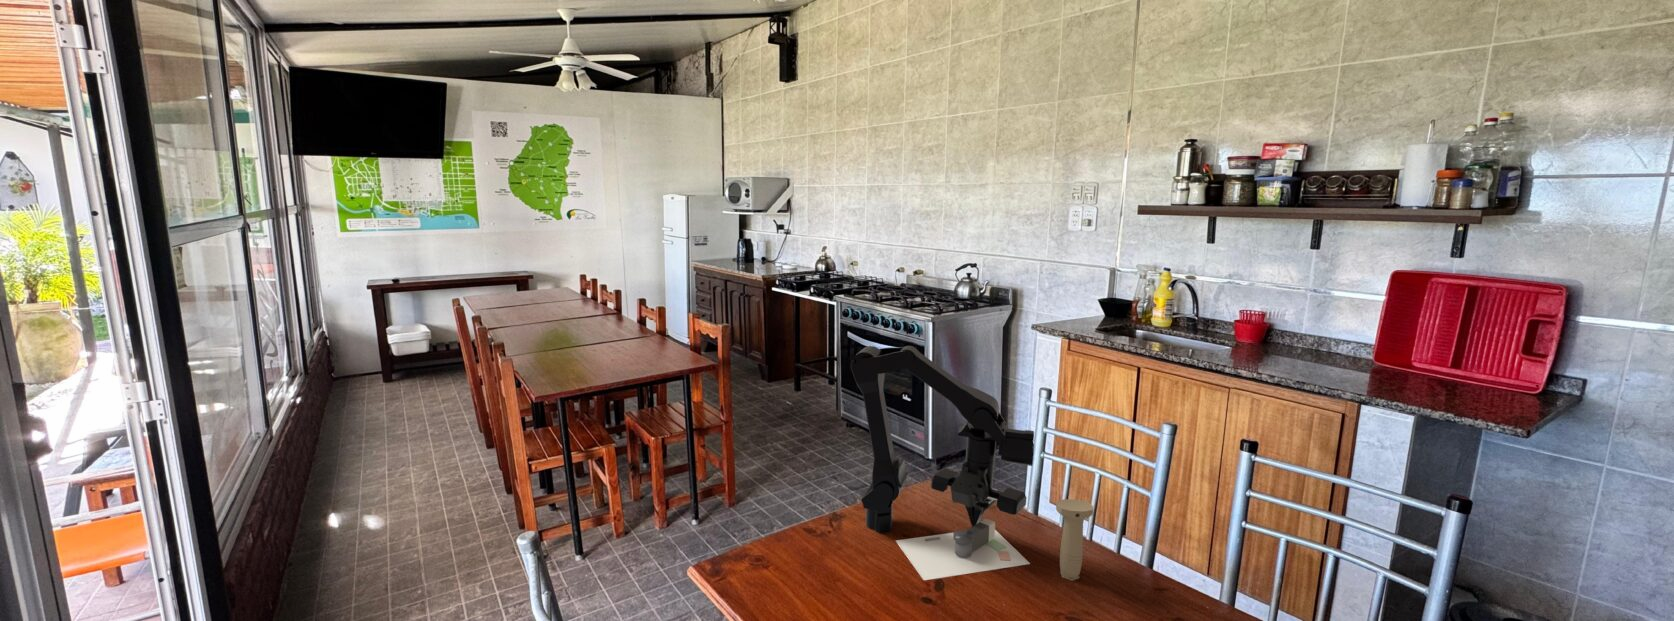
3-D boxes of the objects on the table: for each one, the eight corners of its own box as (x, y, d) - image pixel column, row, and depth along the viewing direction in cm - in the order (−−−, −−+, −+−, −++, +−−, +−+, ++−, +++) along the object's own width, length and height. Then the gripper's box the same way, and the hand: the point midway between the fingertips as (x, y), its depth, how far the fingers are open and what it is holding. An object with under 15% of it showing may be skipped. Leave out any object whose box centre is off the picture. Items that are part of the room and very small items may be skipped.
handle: (1090, 588, 126) (1096, 512, 124) (1054, 586, 127) (1059, 510, 124) (1083, 574, 131) (1089, 500, 128) (1049, 572, 131) (1053, 498, 129)
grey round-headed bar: (965, 560, 133) (966, 542, 132) (948, 552, 136) (949, 534, 135) (997, 541, 140) (998, 523, 140) (981, 534, 143) (982, 516, 143)
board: (895, 545, 141) (895, 539, 141) (992, 531, 147) (992, 526, 147) (923, 585, 127) (923, 579, 127) (1029, 568, 133) (1030, 562, 133)
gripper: (919, 457, 138) (915, 529, 141) (1008, 484, 127) (1001, 561, 130) (945, 441, 147) (940, 509, 150) (1030, 465, 136) (1023, 537, 139)
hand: (974, 528), depth 142 cm, fingers closed
